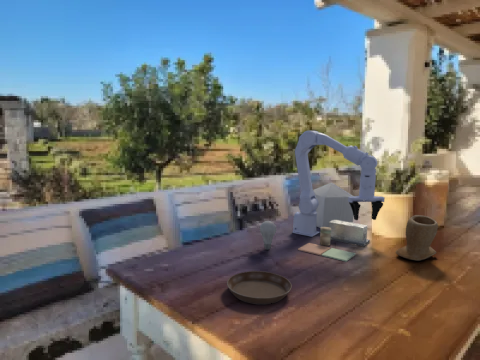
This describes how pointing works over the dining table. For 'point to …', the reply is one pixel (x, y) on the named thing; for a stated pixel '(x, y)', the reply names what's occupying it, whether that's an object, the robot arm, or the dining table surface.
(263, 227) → the lightbulb
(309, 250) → the terracotta pad
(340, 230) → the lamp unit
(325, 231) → the fuse
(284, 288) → the plant saucer
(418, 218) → the stone cup
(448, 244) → the dining table surface
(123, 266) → the dining table surface
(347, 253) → the sage pad
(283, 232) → the dining table surface
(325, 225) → the decorative block
